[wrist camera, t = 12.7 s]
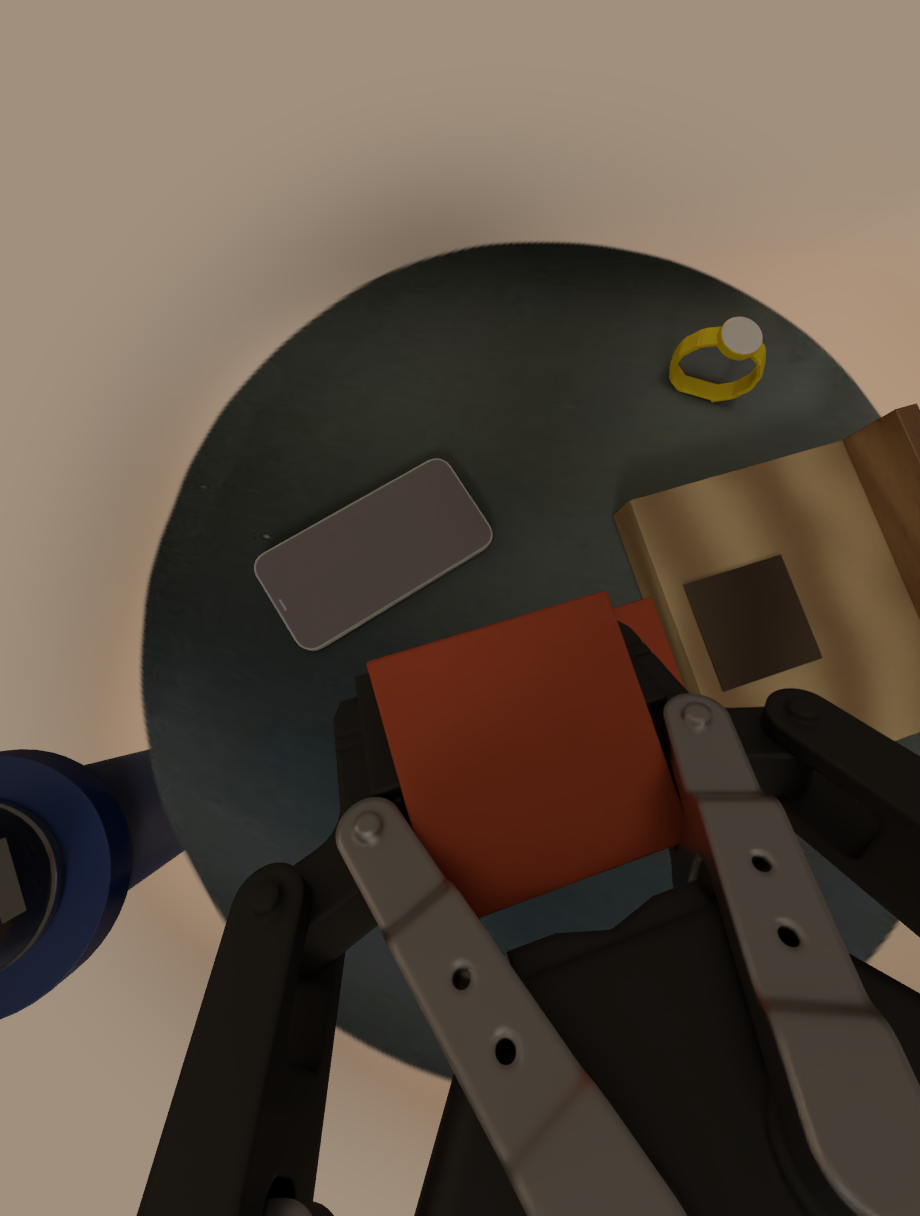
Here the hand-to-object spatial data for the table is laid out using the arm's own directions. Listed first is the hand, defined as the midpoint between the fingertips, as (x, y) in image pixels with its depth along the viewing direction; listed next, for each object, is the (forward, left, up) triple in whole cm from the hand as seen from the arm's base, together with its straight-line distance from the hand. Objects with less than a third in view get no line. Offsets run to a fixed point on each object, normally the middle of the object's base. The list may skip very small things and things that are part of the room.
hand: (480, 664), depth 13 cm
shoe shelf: (+23, -8, -20) cm, 31 cm away
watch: (+28, +9, -20) cm, 35 cm away
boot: (+2, -2, -7) cm, 8 cm away
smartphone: (0, +10, -20) cm, 22 cm away
